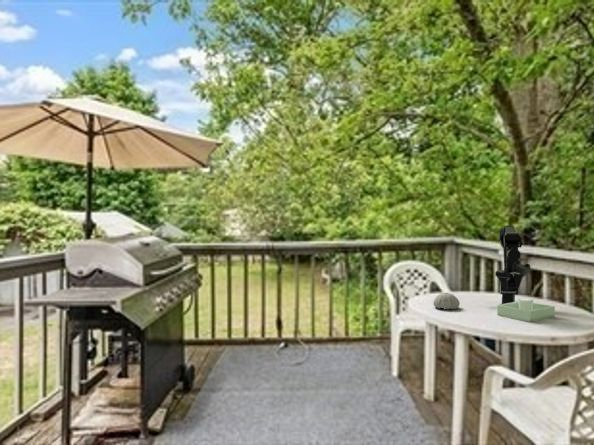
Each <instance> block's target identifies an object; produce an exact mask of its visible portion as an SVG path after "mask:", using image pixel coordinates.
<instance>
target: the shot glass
mask: <svg viewBox="0 0 594 445" xmlns="http://www.w3.org/2000/svg"><path fill="white" fill-rule="evenodd" d="M517 301H518V302H519V309H523V310H529V311H531V310H533V303H534V299H531V298H518V300H517Z"/></svg>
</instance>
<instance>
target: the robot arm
mask: <svg viewBox="0 0 594 445" xmlns="http://www.w3.org/2000/svg"><path fill="white" fill-rule="evenodd" d="M498 241H499V245H500V246H501V248H502V249H503V250H502V251H503V269H499V270H497V269H496V271H495V273H494V274H495V275H494V276H495V277H496V278H498V279H499V281H500V282H499V295H502V296H501V303H500V304H499V305H501V304H506V303H512V302H516V296H517V295H519V288H520V286H521V283H522V281H523V279H524V277H526V276H528V274H530V273H529V272H530V271H531V269H532V268H531V264H530V263H525V264H524V263H523V264H522V263H521V262H522V261H521V260H520V258H521V256H522V255H521V252H520V250H519V248H522V246H523V238H522V235H520V233H519V232H516V229H515V228H514V226H513V225H503V227H502V228H501V229H500V230H499V232H498Z"/></svg>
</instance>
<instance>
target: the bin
mask: <svg viewBox="0 0 594 445" xmlns="http://www.w3.org/2000/svg"><path fill="white" fill-rule="evenodd" d="M500 304H501V305H500ZM500 304H497V309H496V310H497V313H496V315H497V316H499V317H504V318H508V319H509V318H510V319H513V320H517V321H518V320H519V321H523V322H528V323H532V322H538V321H542V320H546V319H551V318H555V316H556V310H555V309H556V307H555V306H554V305H549V304H543V303H539V302H533V310H531V311H529V310H523V309H519V302H518V300H517V301H515V302H512V303H506V304H502V303H500Z"/></svg>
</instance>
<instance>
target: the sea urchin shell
mask: <svg viewBox="0 0 594 445" xmlns="http://www.w3.org/2000/svg"><path fill="white" fill-rule="evenodd" d="M460 305H461V304H460V300H459V299H458V298H457V296H455V295H454V294H453V293H449V292H442V293H439V294H438V295H436V297H435V298H434V299H433V306H434V308H436V307H438V308H437V309H440V308H445V309H444V310H456V309H458V308H459V307H460Z"/></svg>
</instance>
